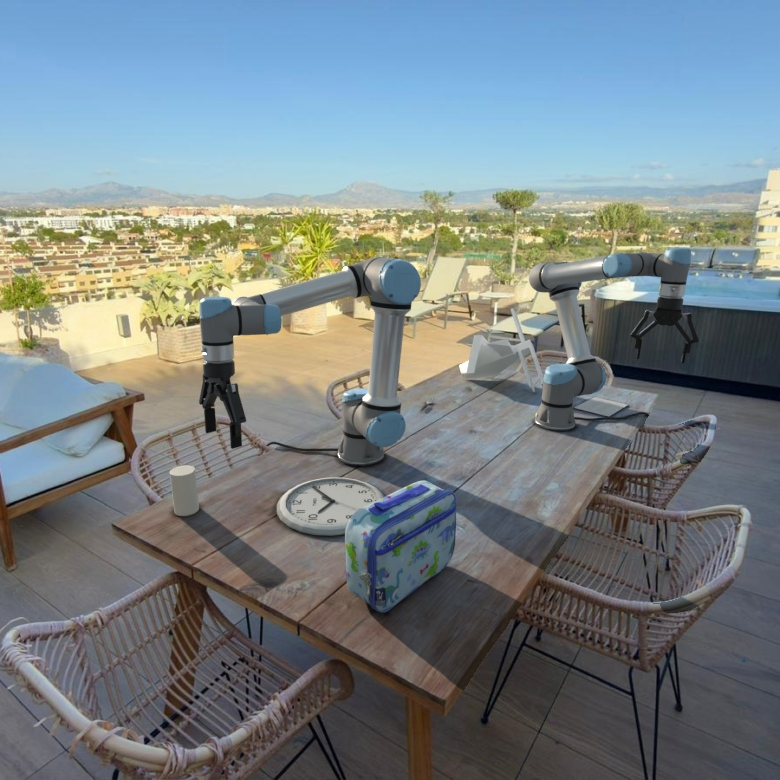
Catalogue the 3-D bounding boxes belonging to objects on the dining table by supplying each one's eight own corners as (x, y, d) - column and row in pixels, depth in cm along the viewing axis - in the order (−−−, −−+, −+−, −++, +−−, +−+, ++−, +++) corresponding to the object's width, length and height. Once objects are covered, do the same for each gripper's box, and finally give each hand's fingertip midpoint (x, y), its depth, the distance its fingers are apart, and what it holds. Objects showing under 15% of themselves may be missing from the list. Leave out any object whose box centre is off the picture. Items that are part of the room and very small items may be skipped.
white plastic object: (480, 421, 262) (459, 398, 238) (462, 347, 285) (440, 320, 260) (552, 397, 250) (537, 370, 226) (527, 322, 272) (511, 290, 248)
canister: (195, 501, 143) (190, 463, 140) (202, 511, 139) (198, 471, 135) (171, 508, 140) (166, 469, 136) (178, 518, 135) (173, 478, 132)
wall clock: (392, 527, 129) (268, 531, 127) (391, 533, 130) (269, 537, 127) (383, 473, 158) (282, 475, 155) (383, 478, 158) (282, 480, 156)
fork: (417, 411, 216) (418, 406, 216) (428, 400, 231) (428, 395, 230) (423, 412, 215) (424, 407, 215) (434, 400, 230) (434, 396, 229)
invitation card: (608, 416, 214) (573, 407, 224) (608, 416, 214) (573, 408, 224) (628, 404, 229) (594, 396, 238) (628, 405, 229) (594, 397, 238)
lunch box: (374, 626, 100) (375, 530, 93) (338, 598, 107) (337, 508, 101) (459, 568, 117) (465, 484, 111) (424, 547, 124) (427, 467, 118)
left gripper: (182, 352, 136) (188, 429, 142) (229, 372, 119) (234, 458, 125) (209, 349, 141) (214, 422, 147) (258, 367, 124) (261, 450, 131)
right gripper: (629, 295, 172) (619, 358, 178) (716, 300, 163) (703, 366, 169) (629, 293, 178) (619, 354, 185) (712, 298, 169) (700, 361, 176)
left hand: (223, 439), depth 136 cm, fingers open, 13 cm apart
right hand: (659, 360), depth 177 cm, fingers open, 13 cm apart
